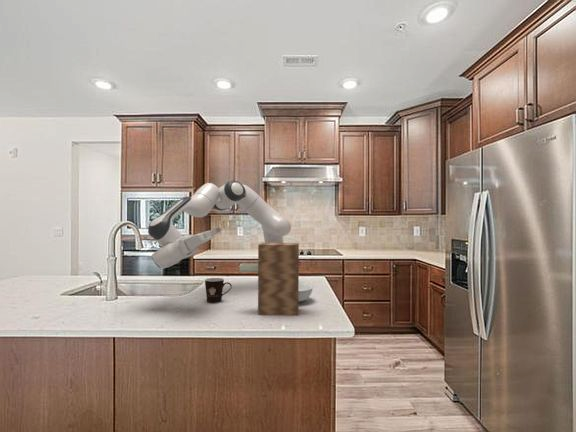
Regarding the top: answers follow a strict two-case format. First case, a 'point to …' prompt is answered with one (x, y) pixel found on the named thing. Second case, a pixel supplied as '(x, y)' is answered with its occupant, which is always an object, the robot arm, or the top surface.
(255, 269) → the pale green bar
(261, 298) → the stand
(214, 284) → the coffee mug
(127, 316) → the top surface
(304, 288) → the serving bowl
